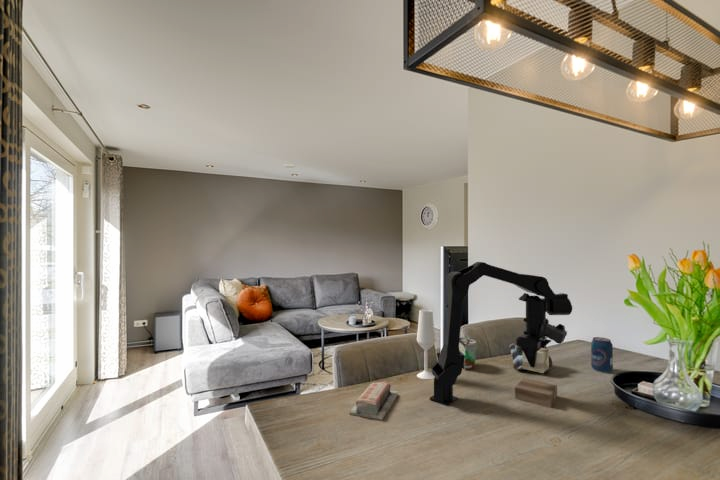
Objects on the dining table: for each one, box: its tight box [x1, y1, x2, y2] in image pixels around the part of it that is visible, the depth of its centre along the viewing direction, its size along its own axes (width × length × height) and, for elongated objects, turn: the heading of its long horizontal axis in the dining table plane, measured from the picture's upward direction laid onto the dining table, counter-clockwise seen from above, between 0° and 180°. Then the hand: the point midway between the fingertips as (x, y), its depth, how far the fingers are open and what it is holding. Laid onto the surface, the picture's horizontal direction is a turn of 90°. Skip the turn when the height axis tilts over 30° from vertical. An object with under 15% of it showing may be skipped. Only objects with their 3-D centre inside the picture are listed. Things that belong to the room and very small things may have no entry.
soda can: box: [590, 336, 614, 374], centre depth 140 cm, size 7×7×12 cm
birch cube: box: [522, 348, 550, 374], centre depth 115 cm, size 6×6×6 cm
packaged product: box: [349, 381, 399, 421], centre depth 110 cm, size 18×5×10 cm
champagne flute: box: [416, 309, 436, 380], centre depth 134 cm, size 7×7×24 cm
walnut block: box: [514, 378, 558, 409], centre depth 115 cm, size 10×10×4 cm
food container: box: [459, 336, 478, 371], centre depth 144 cm, size 12×6×10 cm, turn 179°
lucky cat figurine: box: [508, 340, 553, 371], centre depth 142 cm, size 15×12×14 cm
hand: (535, 364), depth 115 cm, fingers closed on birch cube, 6 cm apart
